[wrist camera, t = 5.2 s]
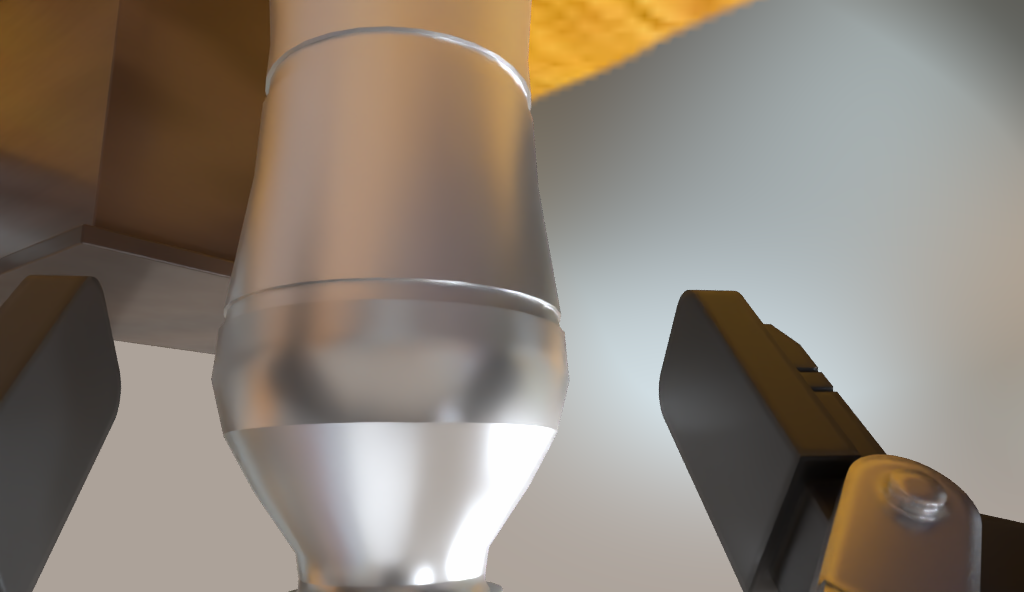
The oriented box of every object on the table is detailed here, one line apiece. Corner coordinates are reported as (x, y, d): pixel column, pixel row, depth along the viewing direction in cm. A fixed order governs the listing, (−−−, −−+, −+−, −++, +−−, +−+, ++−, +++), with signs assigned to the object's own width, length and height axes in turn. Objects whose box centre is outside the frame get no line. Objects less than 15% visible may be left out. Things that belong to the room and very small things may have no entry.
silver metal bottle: (297, -137, 21) (251, 664, 16) (218, -427, 14) (97, 790, 9) (534, -130, 21) (559, 653, 16) (565, -409, 14) (623, 767, 10)
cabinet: (-51, 8, 26) (-107, 316, 24) (130, -158, 20) (81, 243, 17) (258, 136, 37) (244, 362, 34) (446, 56, 30) (446, 328, 27)
